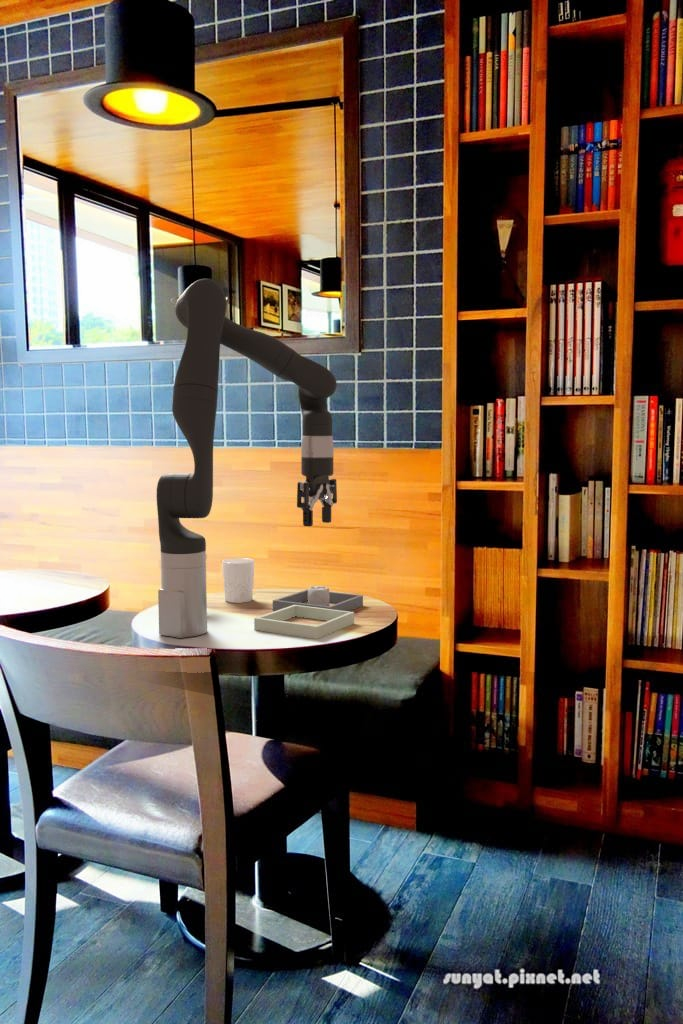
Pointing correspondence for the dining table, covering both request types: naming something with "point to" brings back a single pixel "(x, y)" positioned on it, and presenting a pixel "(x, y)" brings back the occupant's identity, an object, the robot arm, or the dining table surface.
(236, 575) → the white cup
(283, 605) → the gray frame
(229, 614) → the dining table surface
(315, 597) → the die
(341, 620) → the sage frame
